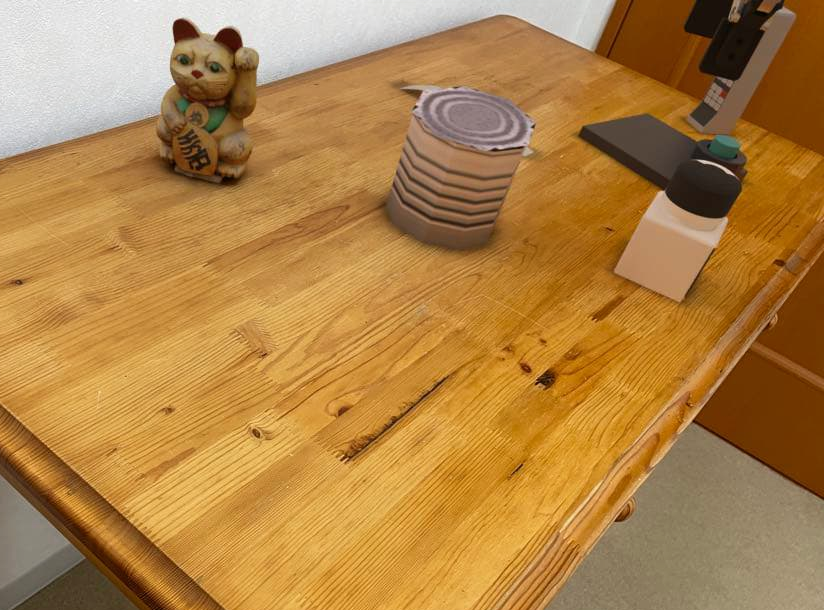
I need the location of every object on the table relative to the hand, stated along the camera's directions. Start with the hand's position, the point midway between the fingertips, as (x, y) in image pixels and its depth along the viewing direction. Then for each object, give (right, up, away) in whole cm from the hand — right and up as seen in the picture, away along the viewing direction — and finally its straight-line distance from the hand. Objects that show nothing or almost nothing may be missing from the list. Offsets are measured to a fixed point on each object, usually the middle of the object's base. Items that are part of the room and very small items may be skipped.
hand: (708, 54), depth 70 cm
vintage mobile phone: (+24, +9, +49) cm, 55 cm away
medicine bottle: (+3, -16, +17) cm, 23 cm away
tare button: (+19, +2, +35) cm, 40 cm away
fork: (-13, +6, +36) cm, 39 cm away
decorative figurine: (-43, -5, +17) cm, 47 cm away
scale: (+13, +2, +38) cm, 40 cm away
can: (-19, -10, +17) cm, 28 cm away
